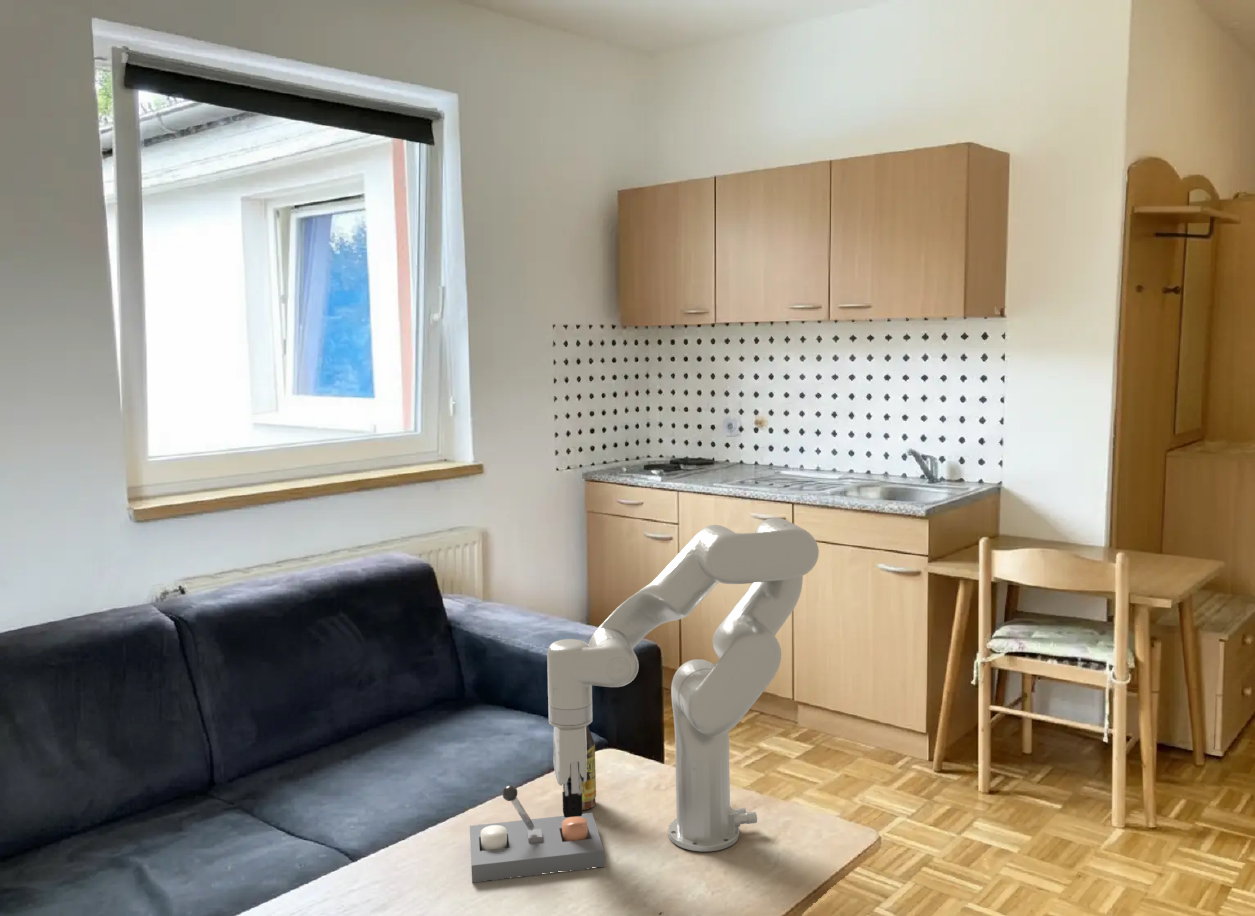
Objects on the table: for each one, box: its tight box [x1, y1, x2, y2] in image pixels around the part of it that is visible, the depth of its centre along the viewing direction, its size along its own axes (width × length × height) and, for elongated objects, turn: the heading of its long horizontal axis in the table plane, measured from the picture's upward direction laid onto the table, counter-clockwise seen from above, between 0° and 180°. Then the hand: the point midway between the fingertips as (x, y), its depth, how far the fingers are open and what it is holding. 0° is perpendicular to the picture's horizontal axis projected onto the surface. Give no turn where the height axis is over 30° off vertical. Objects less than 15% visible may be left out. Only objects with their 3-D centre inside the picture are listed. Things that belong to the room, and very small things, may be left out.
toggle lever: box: [501, 784, 535, 831], centre depth 172 cm, size 3×3×9 cm
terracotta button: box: [562, 817, 588, 842], centre depth 175 cm, size 4×4×4 cm
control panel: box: [469, 812, 605, 884], centre depth 174 cm, size 22×14×4 cm, turn 100°
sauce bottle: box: [562, 725, 597, 811], centre depth 191 cm, size 6×6×20 cm
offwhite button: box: [481, 825, 507, 851], centre depth 172 cm, size 4×4×4 cm
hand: (572, 814), depth 174 cm, fingers closed
